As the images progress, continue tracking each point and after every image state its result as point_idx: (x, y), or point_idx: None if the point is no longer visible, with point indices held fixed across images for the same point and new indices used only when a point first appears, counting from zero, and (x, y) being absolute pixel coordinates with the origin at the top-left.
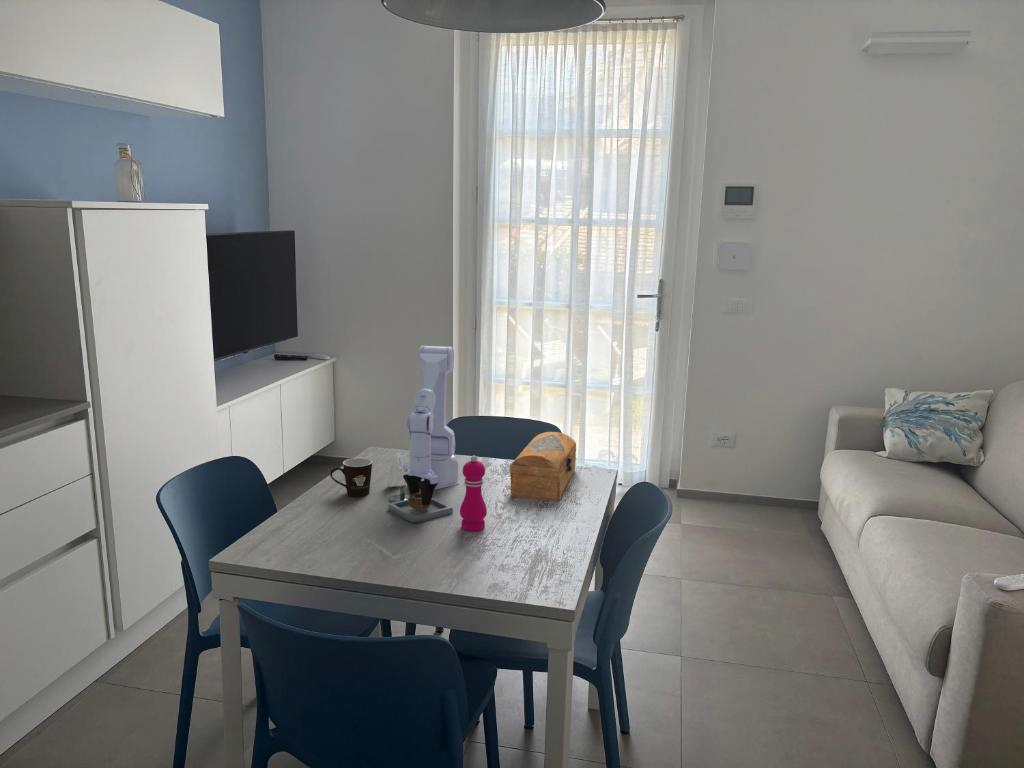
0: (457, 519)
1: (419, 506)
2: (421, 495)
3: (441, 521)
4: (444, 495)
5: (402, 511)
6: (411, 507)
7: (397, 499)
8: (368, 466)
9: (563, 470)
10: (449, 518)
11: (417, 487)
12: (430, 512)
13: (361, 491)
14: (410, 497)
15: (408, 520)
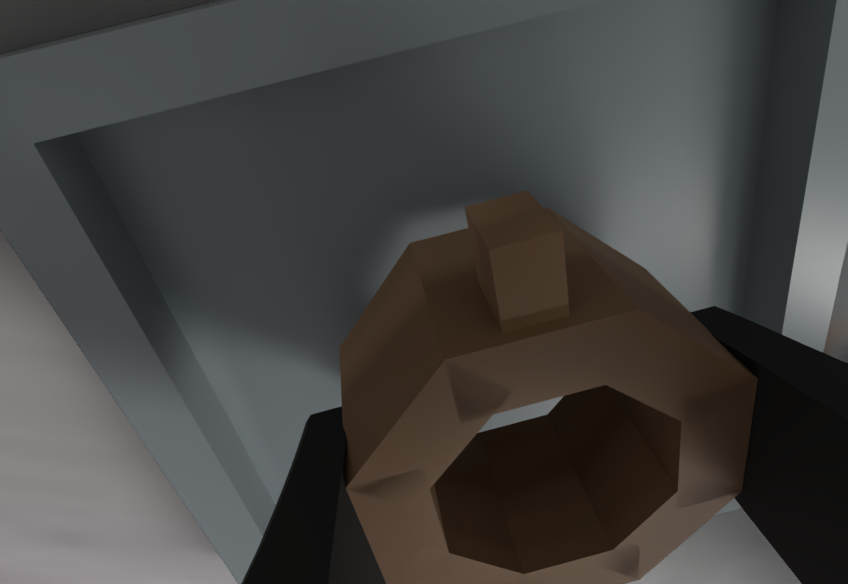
0: (87, 580)
1: (365, 342)
2: (325, 562)
3: (45, 446)
4: (745, 573)
5: None
6: (628, 240)
7: None
8: None
9: None
10: (138, 527)
11: (822, 567)
12: (158, 420)
13: None
14: (605, 304)
15: (143, 19)
